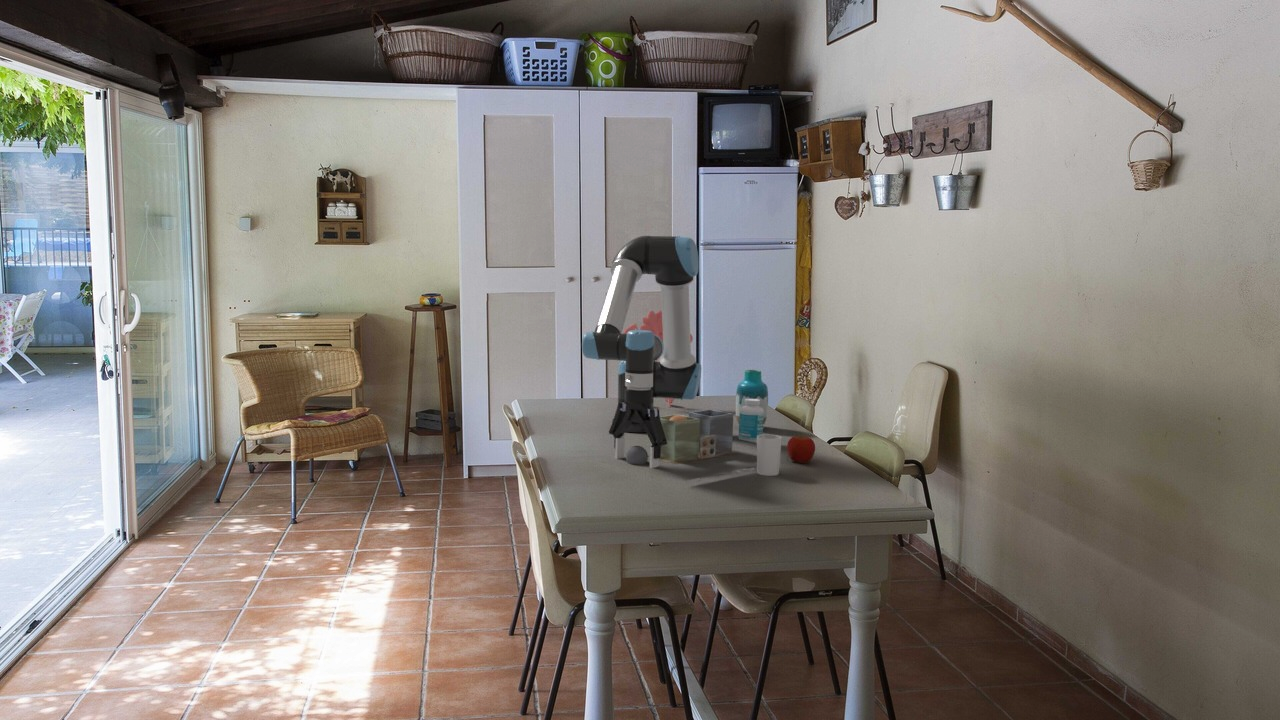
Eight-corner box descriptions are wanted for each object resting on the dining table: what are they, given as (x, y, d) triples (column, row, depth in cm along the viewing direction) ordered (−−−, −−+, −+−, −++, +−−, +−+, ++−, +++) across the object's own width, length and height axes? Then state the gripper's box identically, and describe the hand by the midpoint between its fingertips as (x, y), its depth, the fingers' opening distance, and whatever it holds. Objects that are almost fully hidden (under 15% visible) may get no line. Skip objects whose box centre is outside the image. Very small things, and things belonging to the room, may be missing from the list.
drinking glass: (773, 477, 270) (775, 440, 268) (751, 473, 273) (752, 436, 272) (784, 472, 275) (785, 436, 274) (761, 469, 279) (763, 433, 277)
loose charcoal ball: (620, 467, 276) (621, 445, 276) (637, 464, 281) (637, 442, 280) (636, 471, 272) (636, 449, 271) (652, 468, 276) (652, 446, 275)
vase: (771, 427, 341) (773, 370, 338) (761, 432, 331) (763, 373, 329) (740, 423, 345) (743, 367, 343) (730, 428, 335) (732, 371, 333)
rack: (645, 461, 284) (646, 417, 282) (708, 449, 302) (709, 408, 300) (675, 469, 275) (677, 423, 274) (739, 456, 293) (740, 414, 292)
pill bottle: (761, 446, 309) (763, 402, 307) (737, 444, 311) (738, 400, 309) (763, 441, 316) (765, 398, 315) (739, 439, 318) (741, 397, 316)
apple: (797, 466, 283) (798, 438, 282) (780, 460, 290) (782, 433, 289) (819, 464, 287) (821, 436, 286) (802, 458, 294) (804, 431, 293)
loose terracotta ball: (666, 439, 284) (671, 423, 288) (686, 442, 283) (692, 426, 286) (663, 425, 280) (669, 409, 284) (684, 428, 278) (690, 412, 282)
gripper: (597, 383, 280) (595, 459, 282) (661, 395, 262) (659, 476, 265) (617, 381, 285) (615, 455, 288) (681, 392, 267) (679, 472, 270)
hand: (636, 465), depth 276 cm, fingers open, 13 cm apart
